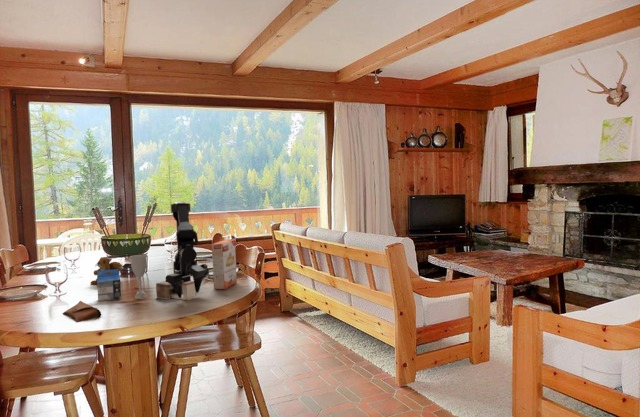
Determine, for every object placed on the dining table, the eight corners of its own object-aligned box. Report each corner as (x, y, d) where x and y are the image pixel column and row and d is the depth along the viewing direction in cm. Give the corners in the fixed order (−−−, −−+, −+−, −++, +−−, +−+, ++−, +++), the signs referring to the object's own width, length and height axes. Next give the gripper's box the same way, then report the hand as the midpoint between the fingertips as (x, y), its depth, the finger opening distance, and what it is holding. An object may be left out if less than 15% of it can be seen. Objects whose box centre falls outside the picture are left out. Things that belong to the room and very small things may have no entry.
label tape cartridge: (98, 301, 189) (96, 272, 188) (98, 299, 192) (96, 271, 192) (121, 298, 193) (119, 270, 192) (120, 296, 196) (119, 268, 196)
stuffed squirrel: (88, 285, 221) (87, 258, 220) (111, 278, 234) (110, 253, 233) (103, 286, 217) (102, 259, 216) (126, 280, 230) (125, 254, 229)
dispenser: (156, 297, 194) (155, 283, 193) (173, 292, 201) (172, 279, 201) (167, 299, 190) (166, 285, 190) (184, 294, 197) (183, 280, 197)
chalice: (153, 295, 196) (150, 254, 195) (142, 300, 190) (139, 257, 188) (139, 294, 198) (137, 254, 197) (128, 299, 192) (125, 257, 191)
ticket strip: (163, 296, 195) (162, 280, 194) (171, 294, 198) (170, 278, 198) (187, 300, 187) (186, 283, 186) (195, 298, 190) (194, 281, 190)
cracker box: (225, 289, 203) (223, 243, 202) (213, 289, 204) (210, 243, 203) (238, 282, 217) (235, 239, 215) (226, 282, 218) (223, 239, 217)
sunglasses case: (60, 313, 173) (68, 296, 175) (77, 318, 178) (85, 302, 180) (77, 322, 161) (86, 304, 163) (95, 327, 166) (104, 310, 168)
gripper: (182, 263, 176) (184, 303, 177) (217, 256, 192) (218, 292, 193) (163, 261, 182) (165, 299, 183) (199, 254, 198) (200, 289, 199)
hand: (188, 295), depth 189 cm, fingers open, 9 cm apart
